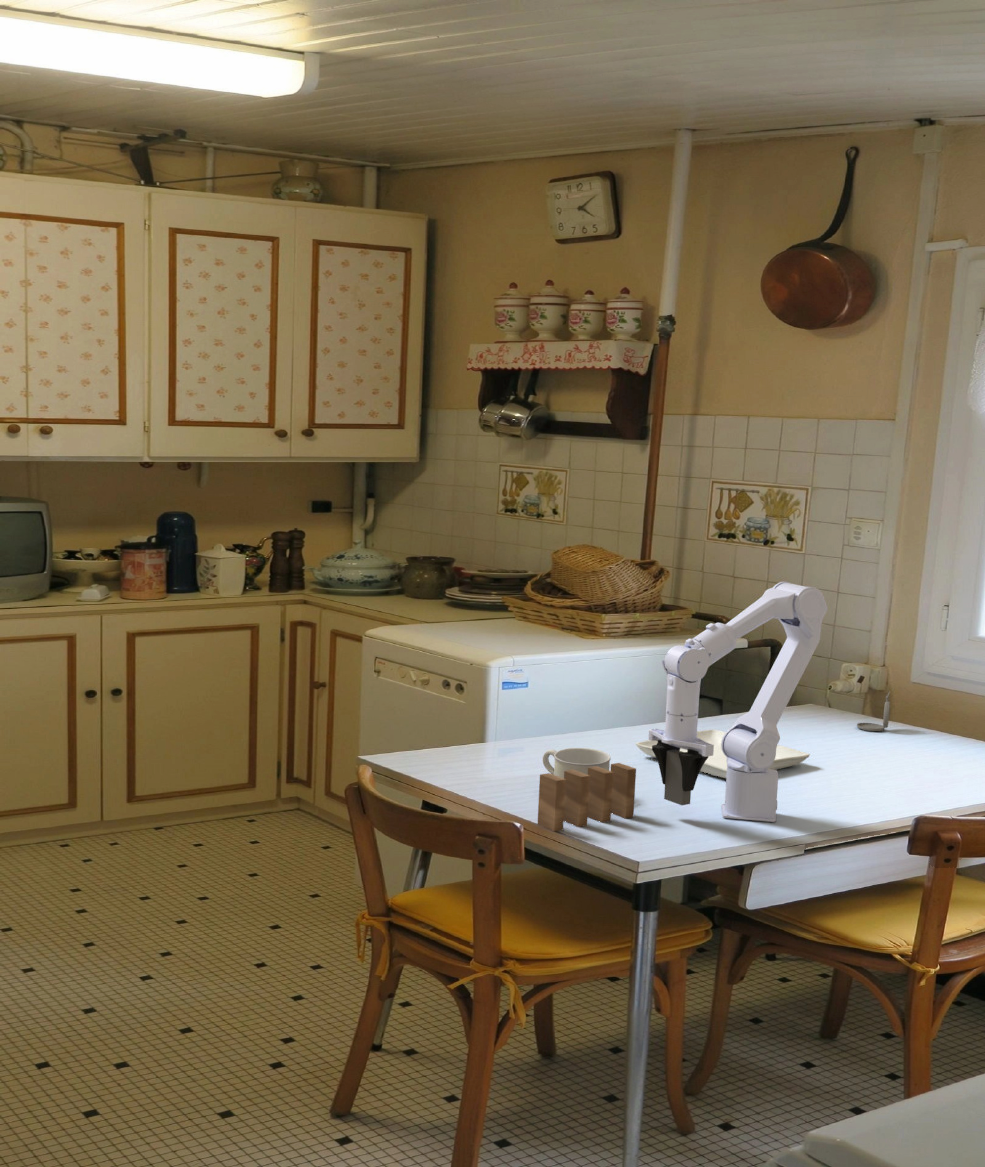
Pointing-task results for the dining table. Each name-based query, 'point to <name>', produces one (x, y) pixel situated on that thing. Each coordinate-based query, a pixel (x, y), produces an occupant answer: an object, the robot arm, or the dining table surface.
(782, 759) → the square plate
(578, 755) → the teacup
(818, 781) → the dining table surface
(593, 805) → the domino
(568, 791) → the domino
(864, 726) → the grey dish with post
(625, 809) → the domino
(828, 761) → the dining table surface
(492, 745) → the dining table surface
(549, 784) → the domino
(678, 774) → the domino
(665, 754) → the robot arm
